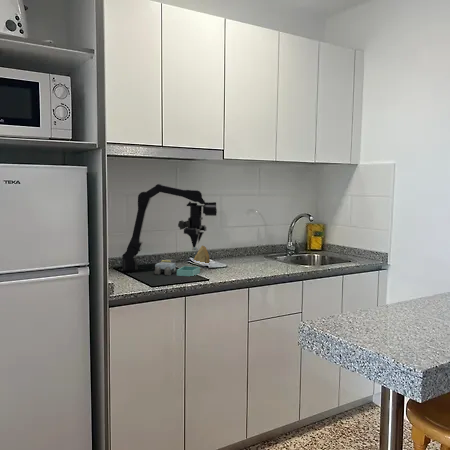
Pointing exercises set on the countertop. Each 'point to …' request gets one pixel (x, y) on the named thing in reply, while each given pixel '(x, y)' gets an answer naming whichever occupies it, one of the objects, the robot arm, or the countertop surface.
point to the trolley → (165, 268)
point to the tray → (188, 271)
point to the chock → (169, 260)
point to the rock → (202, 255)
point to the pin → (195, 247)
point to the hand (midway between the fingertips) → (195, 246)
